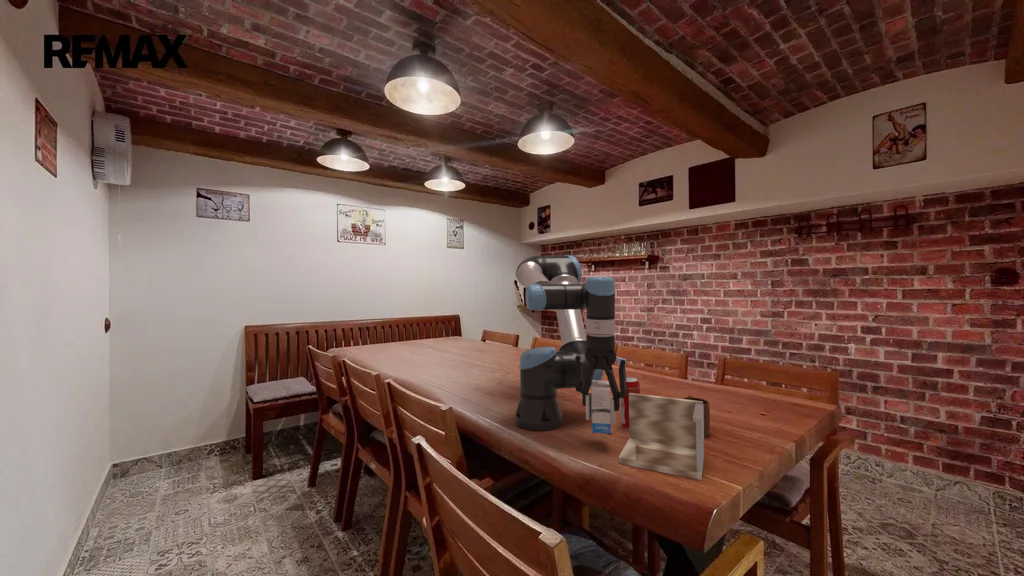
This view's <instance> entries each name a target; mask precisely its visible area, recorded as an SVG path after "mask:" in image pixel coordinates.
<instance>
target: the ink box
mask: <svg viewBox="0 0 1024 576" xmlns="http://www.w3.org/2000/svg"><path fill="white" fill-rule="evenodd" d="M591 410H592V417H591V432H592V433H594V434H608V435H609V434H610V435H611V432H612V431H611V430H612V429H611V428H612V427H611V425H612V424H611V388H610V384H609V381H608V380H601V381H600V380H592V387H591Z"/></svg>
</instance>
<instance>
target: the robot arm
mask: <svg viewBox="0 0 1024 576" xmlns="http://www.w3.org/2000/svg"><path fill="white" fill-rule="evenodd" d="M581 270H582V269H581V265H580V262H579V260H578V259H577V257H576V256H574V255H567V254H562V255H541V254H539V255H532V256H530V257H527V258H525V259H524V260H523V259H522V261H521V262H520V263H519V264H518V266H517V268H516V271H515V276H516V279H517V281H518V283H519V284H520V285H521V286H523V287H524V288H525V304H526V308H527V309H528V310H529V311H538V312H541V311H555V313H556V318H557V324H558V329H559V333H560V335H559V336H560V341H561V345H560V346H559V348H558V351H557V349H556V347H553V346H541V347H535V348H530V349H527V350H525V351H523V352H522V353H521V354H520V355H519V356H520V358H519V367H518V369H519V378H520V379H519V390H520V397H519V400H518V405H517V407H516V411H515V414H514V415H515V416H514V418H515V419H514V423H515V425H516V426H518V427H519V428H522V429H525V430H530V431H549V430H550V431H551V430H554V429H557V428H559V427H560V426H562V425H563V424H564V423H563V421H564V420H563V417H564V416H563V412H562V409H561V406H560V404H559V400H558V394H557V393H558V392H557V391H558V390H559V389H575V391H576V392H577V393H580V394H581V395H582V397H581V399H582V401H581V404H582V406H583V407H585V420H587V421H590V419H592V410H591V395H592V392H590V388H592V380H600V381H603V380H602V379H603V377H604V373H605V375H606V378H607V381H609V384H610V392H611V393H612V397H610V407H611V425H614V424H615V423H616V422H617V412H618V411H620V409H621V399H620V398H624V397H625V396H626V395H627V385H626V377H627V373H626V372H627V371H626V366H627V363H628V359H627V358H625V357H624V358H622V357H620V356H617V353H616V337H615V335H614V334H615V333H616V286H615V285H616V284H615V279H614V278H613V277H611V276H588V277H587V278H586V280H585V283H584V282H582V283H581V279H582V272H581ZM581 310H585V317H586V318H585V324H586V325H584V321H583V316H582V311H581ZM585 327H586V329H585ZM615 362H616V365H617V366H618V379H619V380H618V381H619V387H618V383H617V379H616V377H615V374H614V369H613V365H614V363H615Z"/></svg>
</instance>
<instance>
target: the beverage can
mask: <svg viewBox="0 0 1024 576" xmlns="http://www.w3.org/2000/svg"><path fill="white" fill-rule="evenodd" d="M626 385H627V395H626V396H625V397H624V398H620V414H621V415H620V418H621V419H620V420H621V421H620V422H621V427H622V428H623V429H625V430H628V431H629V393H635V394H641V390H640V389H641V384H640V382H639V379H638V377H634V376H626Z"/></svg>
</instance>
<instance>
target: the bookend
mask: <svg viewBox="0 0 1024 576" xmlns="http://www.w3.org/2000/svg"><path fill="white" fill-rule="evenodd" d="M693 421H695V422H696V464H697V471H700V472H702V473H703V471H704V457H705V437H704V407H703V404H700V403H695V409H694V414H693Z"/></svg>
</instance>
